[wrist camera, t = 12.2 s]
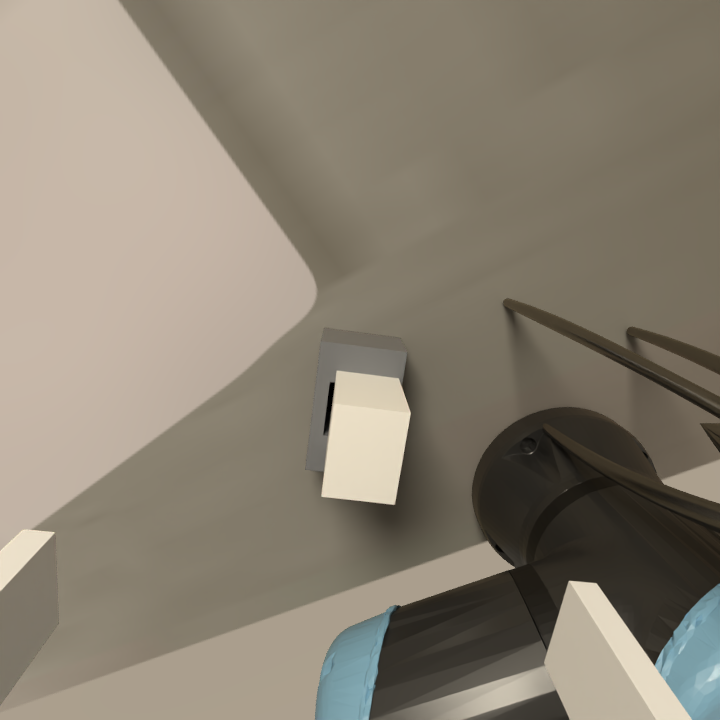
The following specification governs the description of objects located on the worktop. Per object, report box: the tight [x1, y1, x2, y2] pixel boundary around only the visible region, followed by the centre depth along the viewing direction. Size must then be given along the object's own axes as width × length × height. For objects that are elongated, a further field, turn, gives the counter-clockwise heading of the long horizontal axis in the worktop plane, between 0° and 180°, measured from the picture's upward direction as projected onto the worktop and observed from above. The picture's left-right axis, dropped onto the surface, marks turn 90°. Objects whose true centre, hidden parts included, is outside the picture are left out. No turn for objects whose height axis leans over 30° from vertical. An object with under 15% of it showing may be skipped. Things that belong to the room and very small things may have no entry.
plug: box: [321, 371, 411, 505], centre depth 34 cm, size 4×6×12 cm
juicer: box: [503, 298, 720, 533], centre depth 25 cm, size 10×11×30 cm
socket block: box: [305, 328, 407, 472], centre depth 38 cm, size 6×10×5 cm, turn 172°
